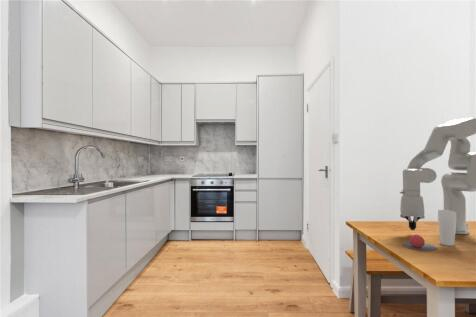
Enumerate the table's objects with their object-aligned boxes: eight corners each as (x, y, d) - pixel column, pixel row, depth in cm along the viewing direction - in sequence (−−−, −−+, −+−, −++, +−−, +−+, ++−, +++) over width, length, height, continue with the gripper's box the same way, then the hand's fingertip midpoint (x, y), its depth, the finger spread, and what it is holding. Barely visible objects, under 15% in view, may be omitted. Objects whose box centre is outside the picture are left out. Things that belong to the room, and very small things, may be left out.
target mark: (413, 241, 138) (413, 240, 138) (443, 248, 126) (443, 247, 126) (395, 244, 132) (395, 243, 132) (425, 252, 120) (425, 251, 120)
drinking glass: (459, 247, 128) (459, 212, 129) (442, 246, 130) (442, 211, 130) (451, 243, 135) (451, 210, 135) (435, 242, 136) (435, 209, 137)
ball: (416, 245, 123) (415, 252, 126) (428, 239, 123) (427, 247, 126) (406, 235, 127) (406, 243, 130) (418, 230, 127) (417, 238, 131)
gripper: (395, 193, 149) (396, 230, 149) (430, 194, 144) (431, 232, 144) (394, 192, 156) (395, 227, 156) (427, 192, 151) (428, 229, 150)
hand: (412, 229), depth 150 cm, fingers closed
